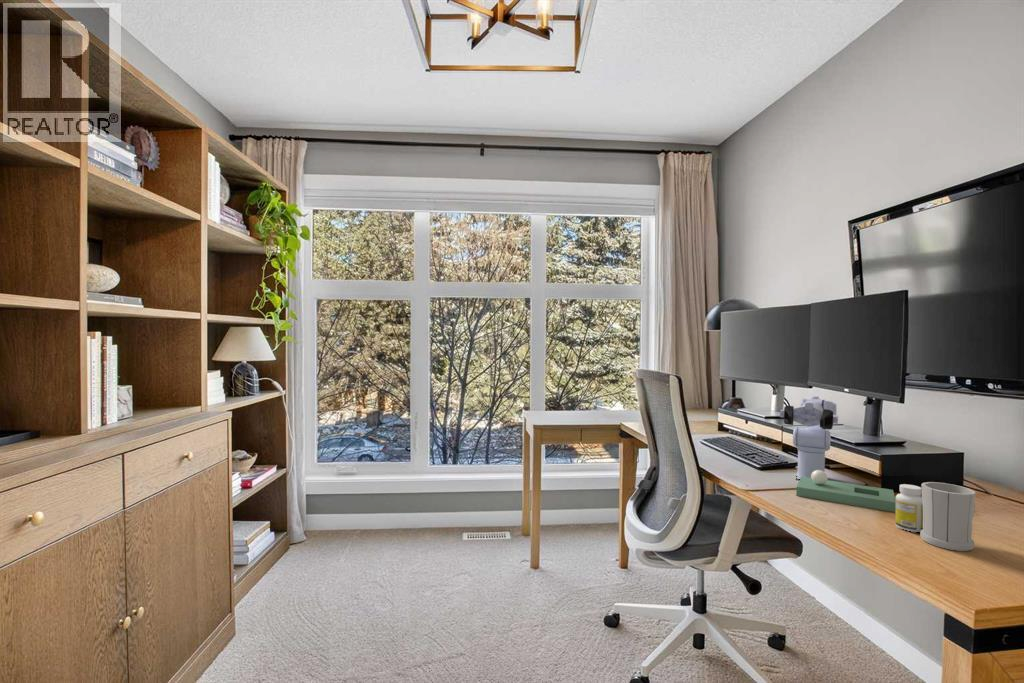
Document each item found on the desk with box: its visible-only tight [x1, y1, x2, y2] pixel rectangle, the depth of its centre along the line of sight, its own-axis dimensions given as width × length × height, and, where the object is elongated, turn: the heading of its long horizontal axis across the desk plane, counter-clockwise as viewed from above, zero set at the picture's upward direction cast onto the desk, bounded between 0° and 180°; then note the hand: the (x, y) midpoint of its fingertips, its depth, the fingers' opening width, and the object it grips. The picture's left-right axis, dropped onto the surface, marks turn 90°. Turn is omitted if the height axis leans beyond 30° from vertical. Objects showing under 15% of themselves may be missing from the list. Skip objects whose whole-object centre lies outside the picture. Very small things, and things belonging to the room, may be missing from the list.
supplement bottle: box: [895, 483, 923, 533], centre depth 117 cm, size 5×5×10 cm
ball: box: [811, 470, 829, 485], centre depth 143 cm, size 4×4×4 cm
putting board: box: [795, 476, 896, 513], centre depth 139 cm, size 13×22×2 cm, turn 56°
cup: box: [919, 481, 977, 552], centre depth 109 cm, size 10×9×12 cm
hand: (805, 421), depth 141 cm, fingers open, 7 cm apart
